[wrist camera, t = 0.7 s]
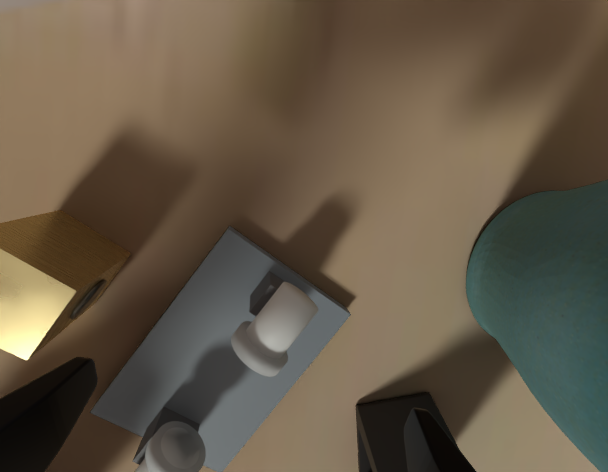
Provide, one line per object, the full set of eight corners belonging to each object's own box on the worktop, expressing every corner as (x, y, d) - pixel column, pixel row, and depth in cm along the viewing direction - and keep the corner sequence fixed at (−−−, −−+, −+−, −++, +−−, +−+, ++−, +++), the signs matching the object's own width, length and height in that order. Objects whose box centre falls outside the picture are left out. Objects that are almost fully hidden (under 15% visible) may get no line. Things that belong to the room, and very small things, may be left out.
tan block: (133, 254, 19) (79, 293, 13) (97, 304, 19) (30, 362, 14) (58, 208, 18) (-37, 228, 12) (21, 261, 18) (-89, 305, 13)
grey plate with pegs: (222, 460, 23) (210, 560, 17) (97, 401, 21) (34, 493, 15) (346, 308, 22) (379, 359, 16) (229, 225, 20) (217, 250, 14)
